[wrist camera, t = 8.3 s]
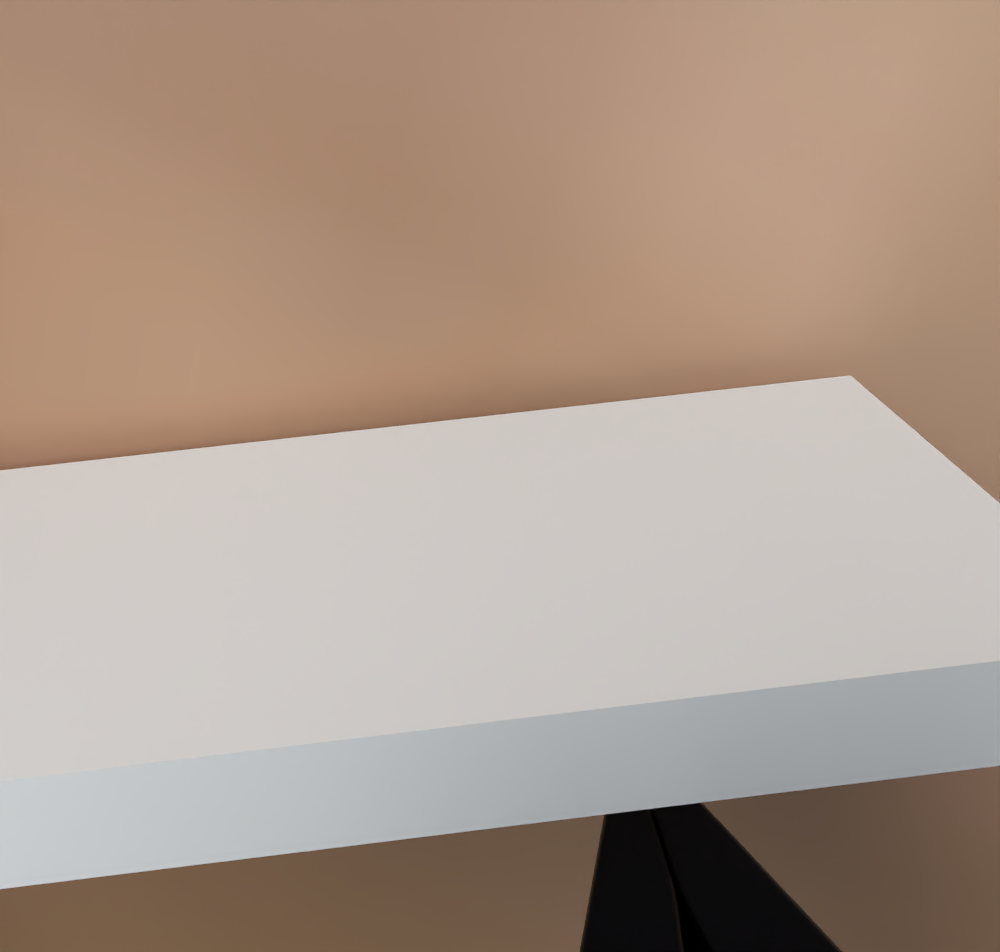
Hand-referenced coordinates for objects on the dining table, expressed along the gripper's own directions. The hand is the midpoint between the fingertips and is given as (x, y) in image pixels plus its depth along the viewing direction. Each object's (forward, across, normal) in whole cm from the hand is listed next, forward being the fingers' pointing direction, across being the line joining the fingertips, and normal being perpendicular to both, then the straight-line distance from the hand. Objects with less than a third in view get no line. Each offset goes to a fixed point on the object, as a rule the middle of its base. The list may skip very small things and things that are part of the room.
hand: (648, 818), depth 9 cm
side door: (+3, +2, -3) cm, 5 cm away
